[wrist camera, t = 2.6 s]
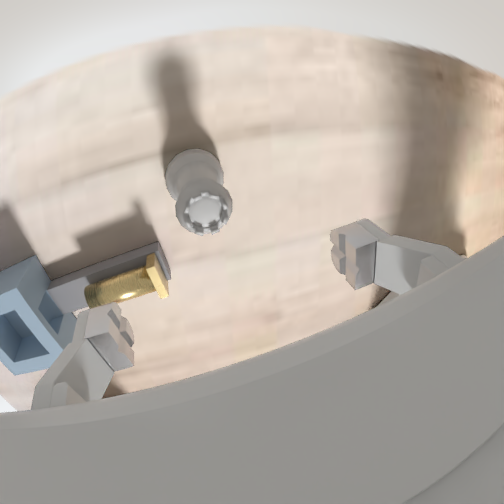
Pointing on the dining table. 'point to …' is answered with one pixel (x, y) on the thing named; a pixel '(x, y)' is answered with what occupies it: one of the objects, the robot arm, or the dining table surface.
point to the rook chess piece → (198, 191)
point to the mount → (51, 306)
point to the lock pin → (128, 285)
